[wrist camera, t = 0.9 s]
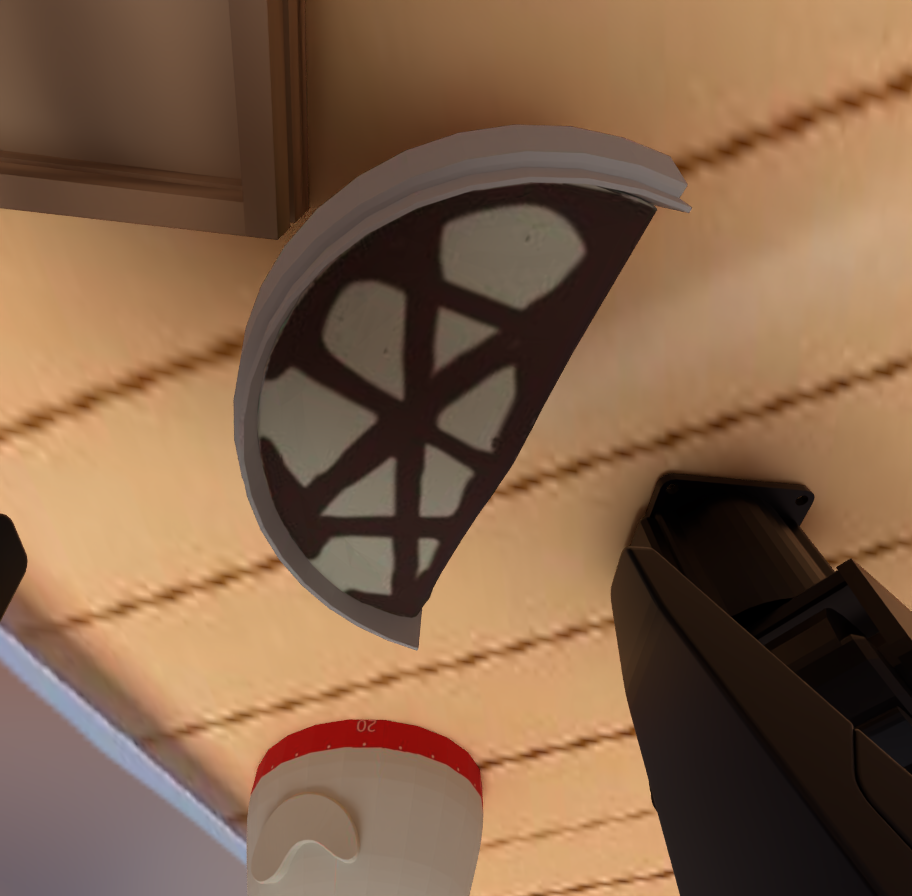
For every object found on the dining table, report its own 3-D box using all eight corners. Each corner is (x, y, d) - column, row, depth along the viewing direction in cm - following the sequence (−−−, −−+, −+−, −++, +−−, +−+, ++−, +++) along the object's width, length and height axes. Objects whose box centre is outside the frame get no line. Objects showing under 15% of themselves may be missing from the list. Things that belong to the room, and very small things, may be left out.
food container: (384, 17, 16) (314, -47, 7) (582, 124, 17) (715, 172, 9) (268, 393, 22) (157, 595, 13) (422, 448, 23) (409, 663, 15)
